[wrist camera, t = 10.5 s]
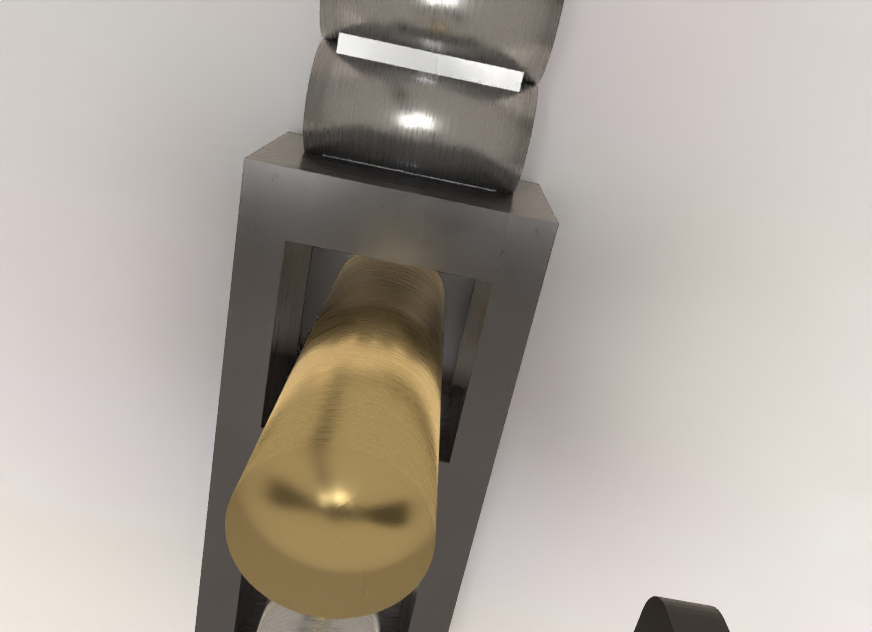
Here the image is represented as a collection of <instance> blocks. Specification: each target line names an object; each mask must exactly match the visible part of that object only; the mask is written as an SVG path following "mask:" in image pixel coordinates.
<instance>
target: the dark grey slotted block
mask: <svg viewBox="0 0 872 632" xmlns="http://www.w3.org/2000/svg"><path fill="white" fill-rule="evenodd" d="M563 2H564V0H320V27H321V33H322V36H323V38H324V39H323V40H322V41H321V43H320V45H319V47H318V50H317V53H316V56H315V59H314V63H313V66H312V71H311V75H310V80H309V85H308V91H307V97H306V104H305V112H304V124H303V135H300V134H295V133H291V132H287V133H286V134H284V135H282V136H281V137H279V138H277V139H276V140H274V141H272V142H271V143H269V144H267V145H266V146H264V147H263V148H261V149H259V150H258V151H256V152H254V153H253V154H251V155H249V156H248V157H246V158H244V167H243V176H242V186H241V195H240V205H239V215H238V224H237V234H236V243H235V253H234V262H233V272H232V282H231V291H230V301H229V310H228V320H227V329H226V339H225V349H224V358H223V368H222V377H221V387H220V396H219V406H218V415H217V425H216V435H215V444H214V454H213V463H212V473H211V482H210V492H209V502H208V511H207V521H206V530H205V540H204V549H203V559H202V569H201V578H200V588H199V597H198V607H197V616H196V626H195V632H448V630H449V626H450V623H451V619H452V615H453V612H454V608H455V604H456V601H457V597H458V593H459V589H460V586H461V582H462V578H463V575H464V571H465V567H466V564H467V560H468V556H469V553H470V549H471V545H472V542H473V538H474V534H475V531H476V527H477V523H478V519H479V516H480V512H481V508H482V505H483V501H484V497H485V494H486V490H487V486H488V483H489V479H490V475H491V472H492V468H493V464H494V461H495V457H496V453H497V449H498V446H499V442H500V438H501V435H502V431H503V427H504V424H505V420H506V416H507V413H508V409H509V405H510V402H511V398H512V394H513V391H514V387H515V383H516V380H517V376H518V372H519V368H520V365H521V361H522V357H523V354H524V350H525V346H526V343H527V339H528V335H529V332H530V328H531V324H532V321H533V317H534V313H535V310H536V306H537V302H538V298H539V295H540V291H541V287H542V284H543V280H544V276H545V273H546V269H547V265H548V262H549V258H550V254H551V251H552V247H553V243H554V240H555V236H556V232H557V228H558V225H559V223H558V221H557V219H556V217H555V215H554V213H553V211H552V209H551V207H550V205H549V204H548V202H547V200H546V198H545V196H544V194H543V192H542V190H541V188H540V186H539V184H534V183H530V182H525V181H520V180H519V179H520V176H521V172H522V169H523V166H524V162H525V158H526V154H527V150H528V146H529V142H530V137H531V133H532V128H533V123H534V117H535V111H536V104H537V94H538V87H537V84H538V83H539V81H540V80H541V78H542V76H543V73H544V71H545V68H546V65H547V62H548V59H549V56H550V53H551V50H552V46H553V43H554V39H555V36H556V32H557V28H558V24H559V20H560V16H561V12H562V7H563ZM312 246H315V247H320V248H325V249H330V250H335V251H340V252H345V253H349V254H354V255H359V256H364V257H369V258H374V259H379V260H384V261H389V262H394V263H399V264H404V265H409V266H414V267H419V268H424V269H429V270H434V271H439V272H443V273H448V274H453V275H458V276H463V277H468V278H473V279H476V280H475V285H474V289H473V293H472V298H471V302H470V306H469V310H468V315H467V319H466V323H465V327H464V332H463V336H462V340H461V344H460V349H459V353H458V357H457V361H456V366H455V370H454V374H453V378H452V383H451V385H450V384H444V383H442V386H441V410H440V435H439V460H438V485H437V510H436V535H435V548H434V554H433V558H432V561H431V564H430V567H429V569H428V570H427V572H426V574H425V576H424V578H423V579H422V580H421V582H420V583H419V584H418V586H417V587H416V588H415V589H414V590H413V591H412V592H411V593H410V594H409V595H407V596H406V597H405V598H403V599H402V600H401V601H399V602H398V603H396V604H394V605H393V606H391V607H389V608H386V609H384V610H382V611H380V612H377V613H373V614H370V615H367V616H362V617H356V618H347V619H327V618H319V617H313V616H309V615H304V614H301V613H298V612H295V611H292V610H289V609H287V608H285V607H283V606H281V605H278V604H277V603H275V602H273V601H272V600H270V599H268V598H267V597H265V596H264V595H263V594H262V593H260V592H259V591H258V590H256V589H255V588H254V587H253V586H252V585H251V584H250V583H249V582H248V581H247V580H246V578H245V577H244V576H243V575H242V573H241V572H240V571H239V569H238V567H237V566H236V564H235V563H234V560H233V558H232V556H231V554H230V551H229V548H228V544H227V541H226V533H225V517H226V512H227V507H228V504H229V502H230V499H231V496H232V494H233V492H234V490H235V488H236V486H237V484H238V482H239V480H240V477H241V475H242V473H243V471H244V469H245V467H246V465H247V463H248V461H249V459H250V457H251V455H252V453H253V450H254V448H255V446H256V444H257V442H258V440H259V438H260V436H261V434H262V432H263V430H264V428H265V426H266V423H267V421H268V419H269V417H270V415H271V413H272V411H273V409H274V407H275V405H276V403H277V401H278V398H279V396H280V394H281V392H282V390H283V388H284V386H285V384H286V382H287V380H288V378H289V376H290V374H291V371H292V369H293V367H294V365H295V363H296V361H297V359H298V357H299V355H297V349H298V342H299V335H300V329H301V322H302V315H303V308H304V301H305V294H306V287H307V280H308V273H309V267H310V260H311V253H312Z"/></svg>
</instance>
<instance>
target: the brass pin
mask: <svg viewBox="0 0 872 632" xmlns="http://www.w3.org/2000/svg"><path fill="white" fill-rule="evenodd" d="M444 311H445V292H444V286H443V282H442V280H441V277H440V275H439V273H438V271H434V270H429V269H424V268H419V267H414V266H409V265H404V264H399V263H394V262H389V261H384V260H379V259H374V258H369V257H364V256H359V255H353V256H352V257H351V258H350V259H349V260H348V261H347V262H346V263H345V264H344V266H343V267H342V268H341V270H340V272H339V274H338V276H337V278H336V280H335V282H334V284H333V286H332V288H331V290H330V292H329V295H328V297H327V299H326V301H325V303H324V305H323V307H322V309H321V311H320V313H319V315H318V317H317V319H316V322H315V324H314V326H313V328H312V330H311V332H310V334H309V336H308V338H307V340H306V342H305V344H304V347H303V349H302V351H301V353H300V355H299V357H298V359H297V361H296V363H295V365H294V367H293V369H292V371H291V374H290V376H289V378H288V380H287V382H286V384H285V386H284V388H283V390H282V392H281V394H280V396H279V398H278V401H277V403H276V405H275V407H274V409H273V411H272V413H271V415H270V417H269V419H268V421H267V423H266V426H265V428H264V430H263V432H262V434H261V436H260V438H259V440H258V442H257V444H256V446H255V448H254V450H253V453H252V455H251V457H250V459H249V461H248V463H247V465H246V467H245V469H244V471H243V473H242V475H241V477H240V480H239V482H238V484H237V486H236V488H235V490H234V492H233V494H232V496H231V499H230V502H229V504H228V507H227V512H226V517H225V533H226V541H227V544H228V548H229V551H230V554H231V556H232V558H233V560H234V563H235V564H236V566H237V567H238V569H239V571H240V572H241V573H242V575H243V576H244V577H245V578H246V580H247V581H248V582H249V583H250V584H251V585H252V586H253V587H254V588H255V589H256V590H258V591H259V592H260V593H262V594H263V595H264V596H265V597H267V598H268V599H270V600H272V601H273V602H275V603H277V604H278V605H281V606H283V607H285V608H287V609H289V610H292V611H295V612H298V613H301V614H304V615H309V616H313V617H319V618H327V619H347V618H356V617H362V616H367V615H370V614H373V613H377V612H380V611H382V610H384V609H386V608H389V607H391V606H393V605H394V604H396V603H398V602H399V601H401V600H402V599H403V598H405V597H406V596H407V595H409V594H410V593H411V592H412V591H413V590H414V589H415V588H416V587H417V586H418V584H419V583H420V582H421V580H422V579H423V578H424V576H425V574H426V572H427V570H428V569H429V567H430V564H431V561H432V558H433V554H434V548H435V535H436V510H437V485H438V460H439V435H440V410H441V386H442V361H443V336H444Z"/></svg>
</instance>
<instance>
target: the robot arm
mask: <svg viewBox="0 0 872 632" xmlns="http://www.w3.org/2000/svg"><path fill="white" fill-rule="evenodd" d="M634 632H730V631H729V629H728V627H727V624H726V622H725V620H724V618H723V616H722V614H721V613H720V612H719V610H718V609H716V608H715V607H713V606H709V605H703V604H697V603H692V602H686V601H680V600H674V599H669V598H663V597H657V596H653V597H651V598H650V599H649V600H648V601H647V602H646V604H645V606H644V608H643V610H642V613H641V615H640V618H639V620H638V623H637V625H636V628H635V630H634Z"/></svg>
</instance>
